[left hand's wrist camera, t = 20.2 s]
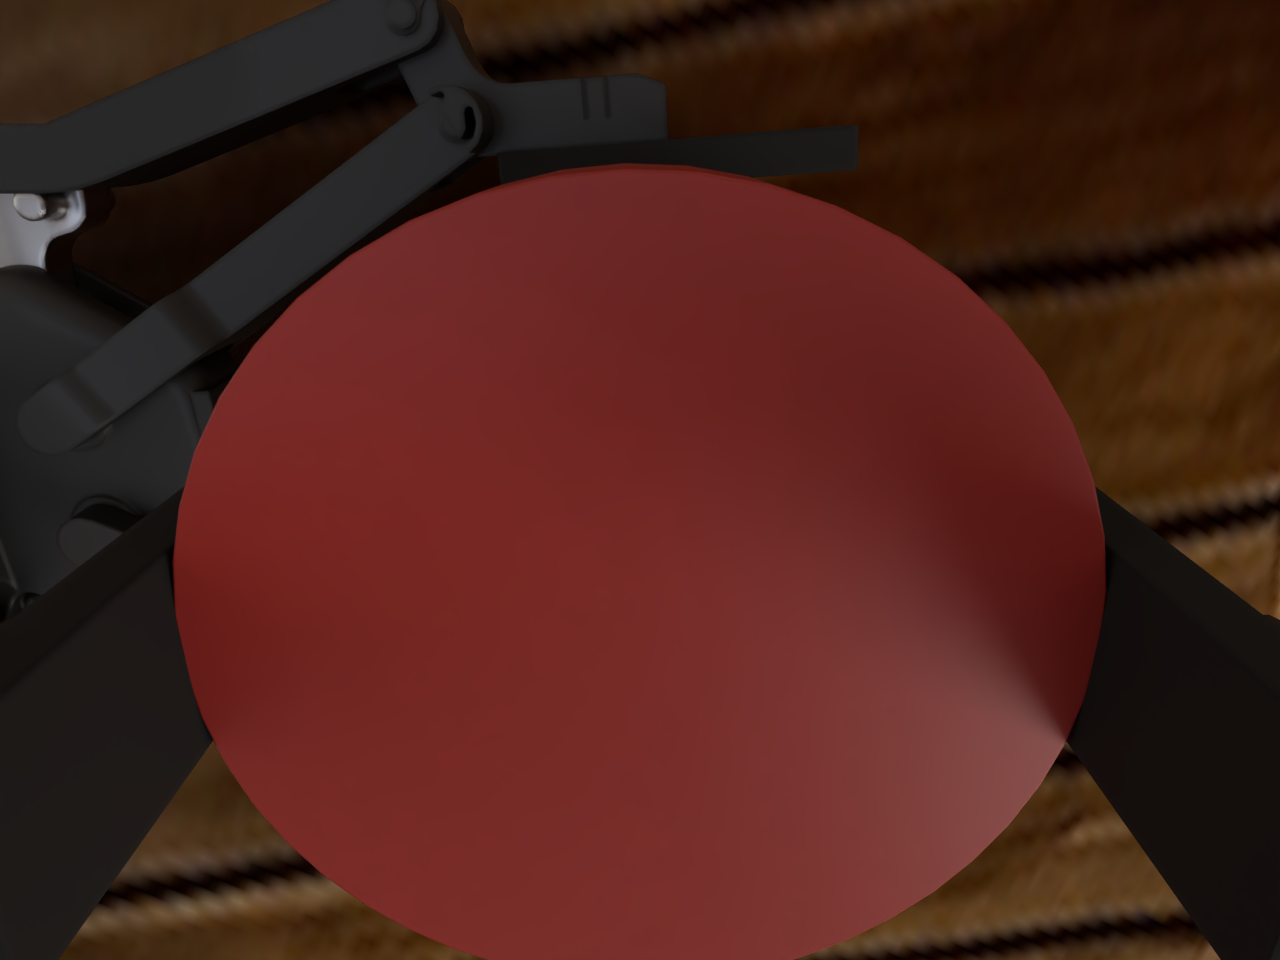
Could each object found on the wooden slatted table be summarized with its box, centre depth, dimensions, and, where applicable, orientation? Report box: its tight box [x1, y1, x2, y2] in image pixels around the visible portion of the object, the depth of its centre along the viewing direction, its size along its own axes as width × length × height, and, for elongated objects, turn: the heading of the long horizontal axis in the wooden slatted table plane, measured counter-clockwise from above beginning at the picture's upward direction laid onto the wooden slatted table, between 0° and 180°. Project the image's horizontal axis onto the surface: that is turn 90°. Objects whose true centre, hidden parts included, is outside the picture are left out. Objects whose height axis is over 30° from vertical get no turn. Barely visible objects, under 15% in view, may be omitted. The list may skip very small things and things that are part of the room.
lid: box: [173, 163, 1106, 960], centre depth 11 cm, size 11×11×2 cm
